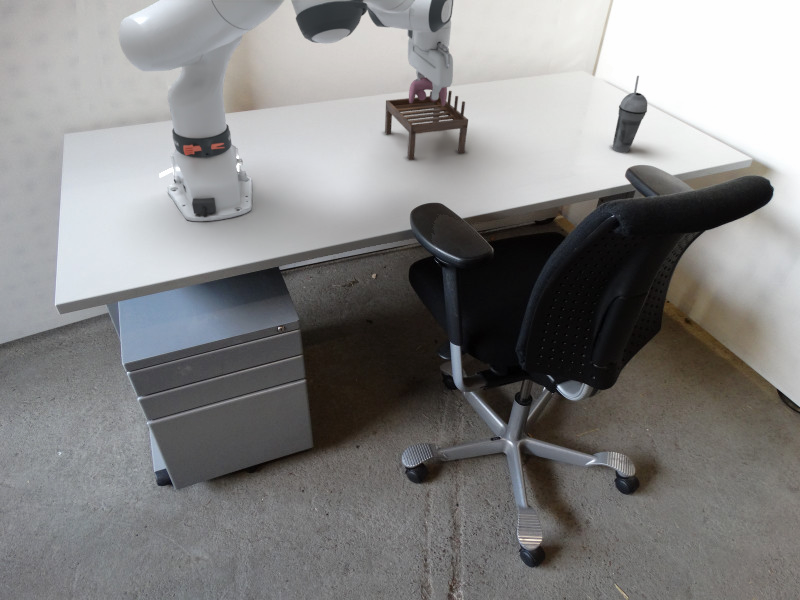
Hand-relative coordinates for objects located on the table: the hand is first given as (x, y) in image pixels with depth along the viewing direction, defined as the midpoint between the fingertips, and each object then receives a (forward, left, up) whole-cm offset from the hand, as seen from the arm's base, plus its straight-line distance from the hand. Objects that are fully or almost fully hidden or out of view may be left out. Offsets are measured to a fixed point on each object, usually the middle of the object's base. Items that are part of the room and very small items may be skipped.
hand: (427, 93), depth 152 cm
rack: (0, 0, -14) cm, 14 cm away
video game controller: (0, 0, -2) cm, 2 cm away
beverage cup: (-19, -52, -14) cm, 57 cm away
